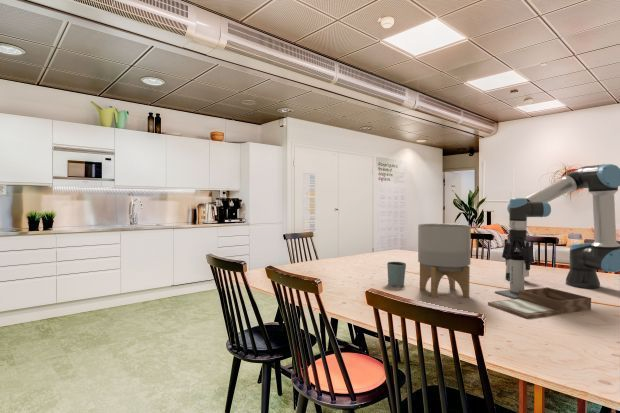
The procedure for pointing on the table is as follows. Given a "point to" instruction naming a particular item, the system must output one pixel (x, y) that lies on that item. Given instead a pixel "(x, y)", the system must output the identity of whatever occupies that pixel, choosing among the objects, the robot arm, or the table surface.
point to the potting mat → (508, 294)
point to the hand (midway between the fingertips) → (517, 274)
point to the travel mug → (516, 272)
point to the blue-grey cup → (396, 273)
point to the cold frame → (543, 303)
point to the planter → (444, 255)
